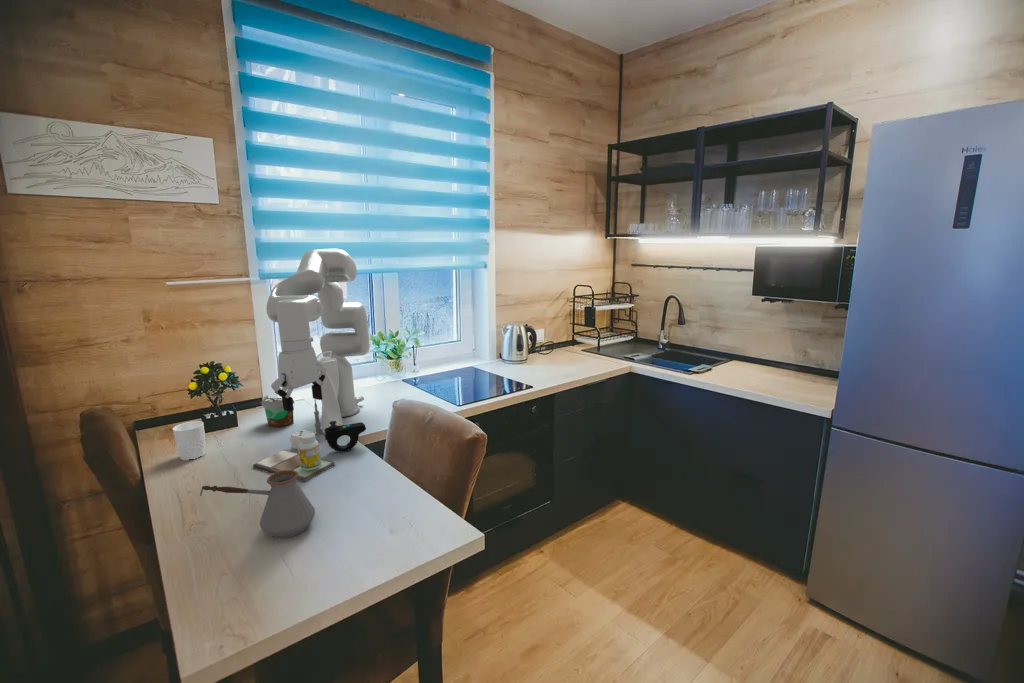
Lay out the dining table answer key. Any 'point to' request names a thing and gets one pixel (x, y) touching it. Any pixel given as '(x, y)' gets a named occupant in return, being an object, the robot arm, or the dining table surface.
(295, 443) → the die
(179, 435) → the white cup
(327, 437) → the controller
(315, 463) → the supplement bottle
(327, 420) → the skyscraper
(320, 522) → the dining table surface
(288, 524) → the coffee pot
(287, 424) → the food container
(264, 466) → the game strip
